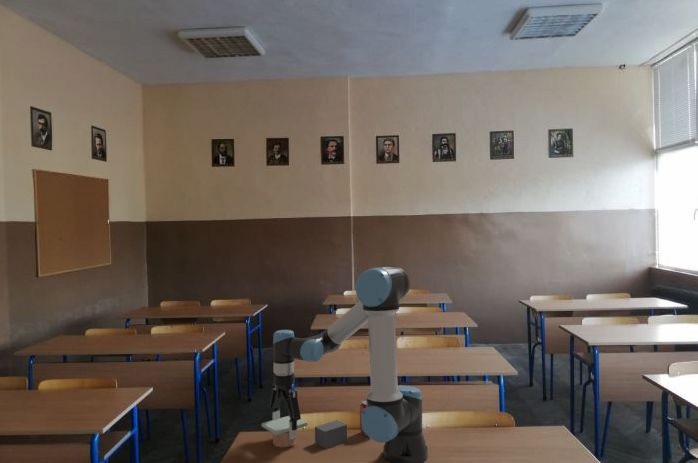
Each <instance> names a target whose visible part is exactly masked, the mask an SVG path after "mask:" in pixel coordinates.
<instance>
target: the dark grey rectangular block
mask: <svg viewBox="0 0 698 463" xmlns="http://www.w3.org/2000/svg"><path fill="white" fill-rule="evenodd" d="M346 442H348V424H346V423H344V422H341V421H339V420H333V421H329V422H325V423H323V424H320V425H319V424H318V425H317V426H314V444H315V445H318V447H321V448H323V449H328V448H331V447H334V446H337V445H340V444H343V443H346Z"/></svg>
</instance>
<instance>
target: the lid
mask: <svg viewBox="0 0 698 463" xmlns="http://www.w3.org/2000/svg"><path fill="white" fill-rule="evenodd" d="M289 420H290V417H289V415H286V416H283V417H280V418H279V419H275V420H273V419H272V420H268V421H265V422H261V427H262V428H264V429H265V430H267V431H269V432H271V433H272V434H273V433H274V434H276V435H278V434H281V433H285V432H288V431H289ZM307 426H308V422H307V421H305V420H303V419H302V418H301V419H300V420H297V430H298V429H302V428H304V427H307Z"/></svg>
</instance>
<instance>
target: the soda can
mask: <svg viewBox="0 0 698 463" xmlns="http://www.w3.org/2000/svg"><path fill="white" fill-rule="evenodd" d="M365 408H367V399H363V400H362V401H361V404H360V406H359V427H360V428H359V429H360V433H361V434H362V435H363V436H366V437H369V436H368V435H367V434H366V433H365V432H364V430H363V428H362V425H361V415H362V413H363V411H364V410H365Z"/></svg>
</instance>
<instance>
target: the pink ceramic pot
mask: <svg viewBox="0 0 698 463" xmlns="http://www.w3.org/2000/svg"><path fill="white" fill-rule="evenodd" d="M296 443H297V438H295V439H291V440H290V439H289V431H288V432H285V433H281V434H278V435H276V434H274V433H272V445H273V444H274V445H273V446H275V447H279V448H289V447H292V446H294V445H295V444H296Z"/></svg>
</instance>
